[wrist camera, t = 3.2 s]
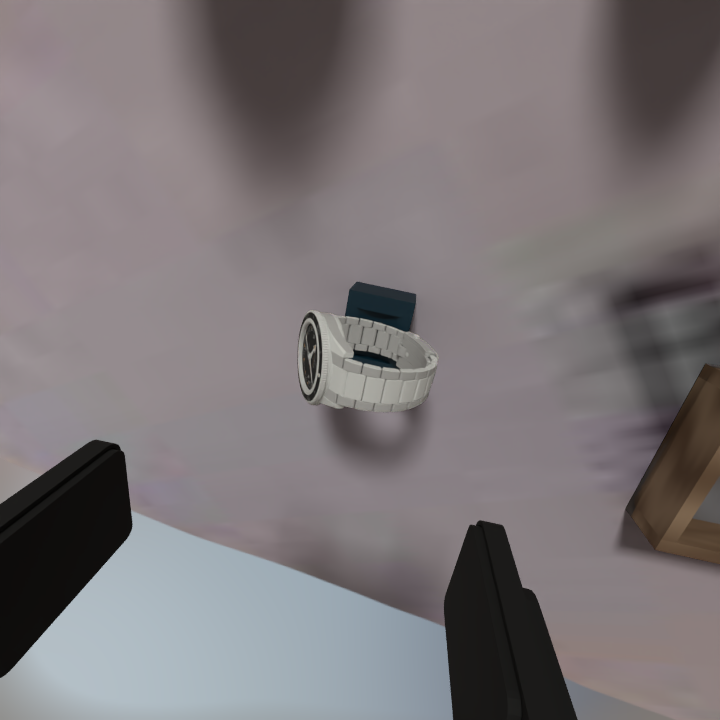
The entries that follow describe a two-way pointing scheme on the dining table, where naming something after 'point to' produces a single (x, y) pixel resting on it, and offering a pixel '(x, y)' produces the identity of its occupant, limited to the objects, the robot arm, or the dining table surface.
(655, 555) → the dining table surface
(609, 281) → the dining table surface
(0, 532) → the robot arm
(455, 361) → the dining table surface
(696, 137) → the dining table surface
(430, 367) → the watch
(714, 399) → the wooden tray
